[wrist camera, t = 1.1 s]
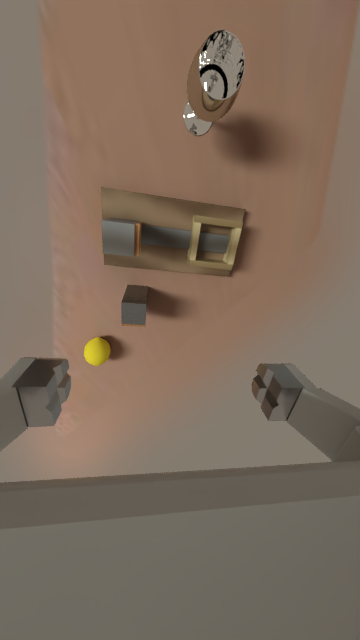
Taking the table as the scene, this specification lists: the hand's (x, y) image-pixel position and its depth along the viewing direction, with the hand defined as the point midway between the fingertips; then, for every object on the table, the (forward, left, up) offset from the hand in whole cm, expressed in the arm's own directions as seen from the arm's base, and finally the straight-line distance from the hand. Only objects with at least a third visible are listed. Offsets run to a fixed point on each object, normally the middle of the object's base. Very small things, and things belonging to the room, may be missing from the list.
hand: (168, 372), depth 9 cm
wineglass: (-19, +5, -34) cm, 39 cm away
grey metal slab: (+10, -3, -34) cm, 35 cm away
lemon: (+23, -11, -34) cm, 43 cm away
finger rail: (-2, +3, -34) cm, 34 cm away
